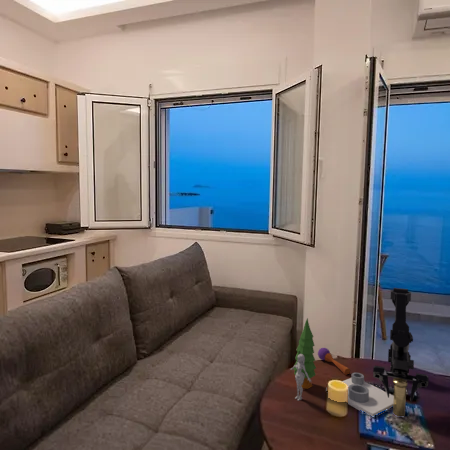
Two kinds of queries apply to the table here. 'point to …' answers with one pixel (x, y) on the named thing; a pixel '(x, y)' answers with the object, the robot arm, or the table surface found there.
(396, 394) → the disc
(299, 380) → the human figurine
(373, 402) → the socket plate
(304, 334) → the decorative tree
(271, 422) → the table surface
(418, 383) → the robot arm
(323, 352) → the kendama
